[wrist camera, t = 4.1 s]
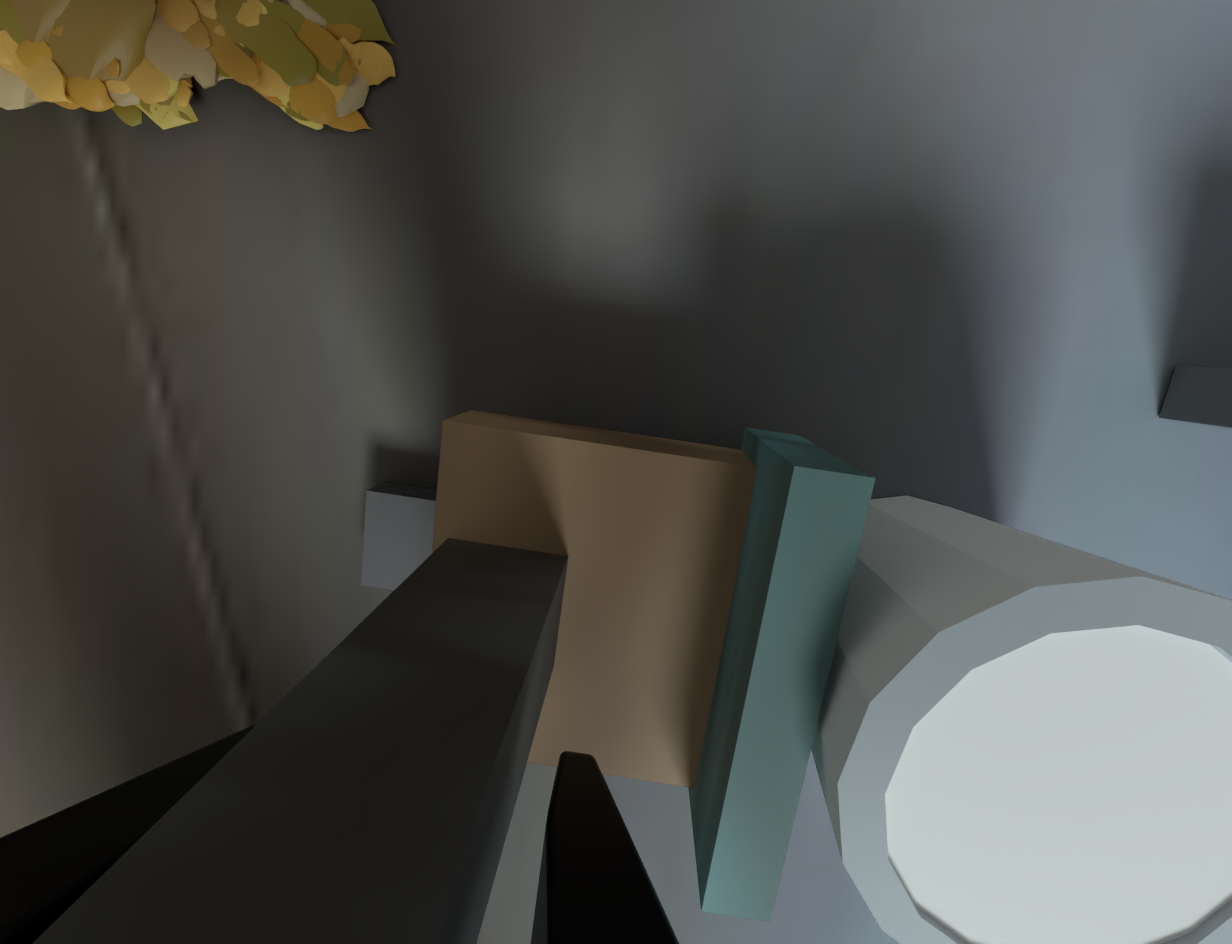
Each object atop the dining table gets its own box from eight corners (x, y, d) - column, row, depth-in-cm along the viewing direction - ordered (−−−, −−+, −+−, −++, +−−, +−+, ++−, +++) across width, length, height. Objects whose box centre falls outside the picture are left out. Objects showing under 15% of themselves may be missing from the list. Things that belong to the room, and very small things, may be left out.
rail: (378, 570, 16) (361, 585, 15) (384, 481, 15) (366, 490, 14) (722, 623, 16) (728, 641, 15) (740, 535, 15) (747, 548, 14)
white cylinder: (768, 459, 15) (878, 558, 8) (1056, 480, 14) (1431, 601, 8) (737, 713, 16) (807, 986, 9) (999, 736, 16) (1271, 1031, 9)
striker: (443, 710, 15) (-72, 1648, 4) (474, 386, 13) (-249, 556, 3) (732, 755, 15) (970, 1835, 4) (799, 435, 13) (1498, 828, 2)
